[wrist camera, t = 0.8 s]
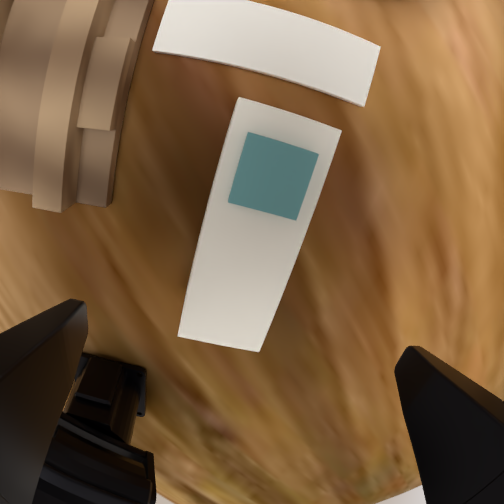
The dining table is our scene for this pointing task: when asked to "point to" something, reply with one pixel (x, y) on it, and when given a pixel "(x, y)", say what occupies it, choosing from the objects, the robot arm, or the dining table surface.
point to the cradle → (65, 95)
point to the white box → (254, 223)
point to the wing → (270, 45)
